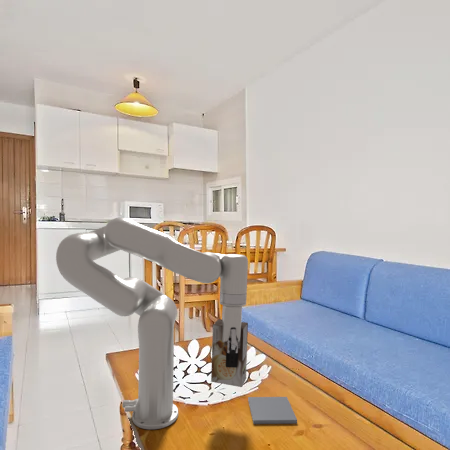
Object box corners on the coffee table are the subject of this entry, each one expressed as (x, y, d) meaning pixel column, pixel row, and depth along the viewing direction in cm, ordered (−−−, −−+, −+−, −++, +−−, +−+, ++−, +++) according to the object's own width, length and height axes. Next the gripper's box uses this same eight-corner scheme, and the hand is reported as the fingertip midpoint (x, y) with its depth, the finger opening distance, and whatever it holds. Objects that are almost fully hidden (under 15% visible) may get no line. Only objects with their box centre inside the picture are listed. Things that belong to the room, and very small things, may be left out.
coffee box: (247, 377, 96) (249, 322, 96) (241, 388, 90) (244, 328, 90) (216, 372, 98) (219, 318, 98) (209, 382, 92) (212, 324, 92)
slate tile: (253, 423, 90) (253, 420, 90) (248, 400, 102) (248, 397, 102) (297, 423, 91) (297, 419, 91) (286, 400, 103) (286, 396, 103)
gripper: (218, 291, 102) (216, 348, 103) (221, 305, 85) (218, 374, 85) (243, 292, 103) (240, 349, 103) (250, 306, 85) (247, 374, 86)
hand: (230, 360), depth 94 cm, fingers closed on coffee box, 7 cm apart
